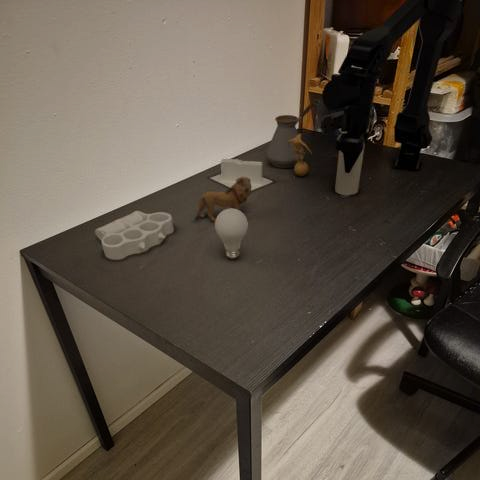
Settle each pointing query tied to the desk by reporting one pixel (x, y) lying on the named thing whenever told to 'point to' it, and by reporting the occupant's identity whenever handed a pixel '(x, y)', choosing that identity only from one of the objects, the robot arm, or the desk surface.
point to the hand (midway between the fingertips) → (349, 168)
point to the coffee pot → (285, 140)
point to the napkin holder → (241, 173)
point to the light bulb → (231, 230)
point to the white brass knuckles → (134, 233)
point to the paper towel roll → (348, 176)
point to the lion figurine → (225, 197)
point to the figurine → (301, 166)
